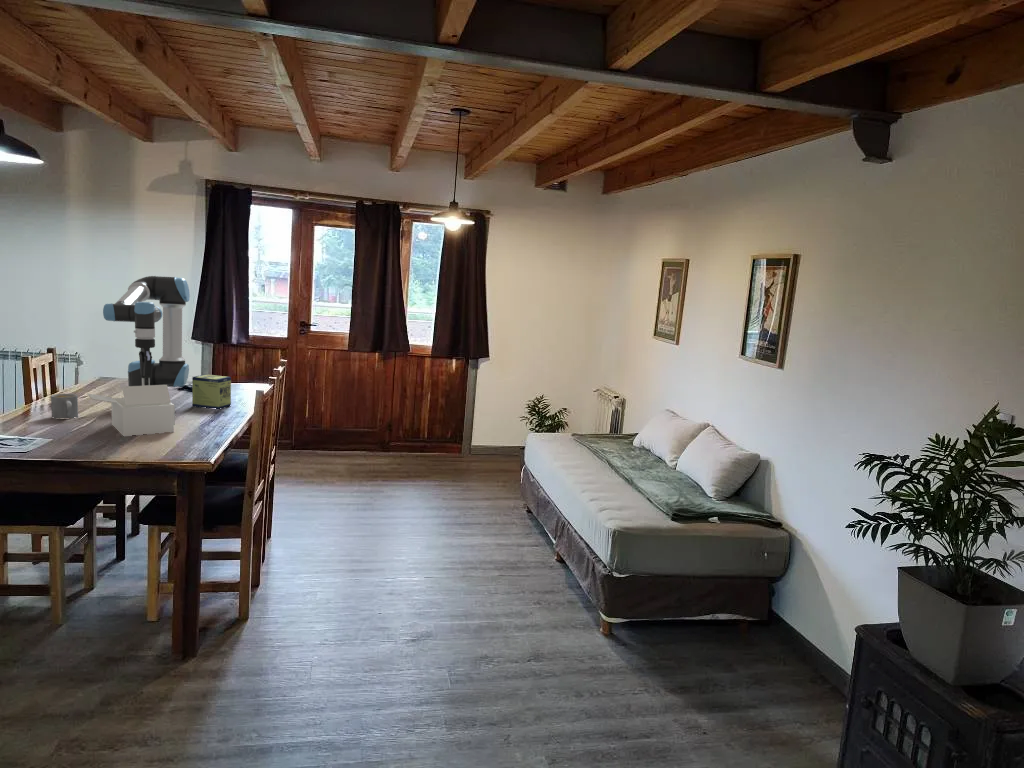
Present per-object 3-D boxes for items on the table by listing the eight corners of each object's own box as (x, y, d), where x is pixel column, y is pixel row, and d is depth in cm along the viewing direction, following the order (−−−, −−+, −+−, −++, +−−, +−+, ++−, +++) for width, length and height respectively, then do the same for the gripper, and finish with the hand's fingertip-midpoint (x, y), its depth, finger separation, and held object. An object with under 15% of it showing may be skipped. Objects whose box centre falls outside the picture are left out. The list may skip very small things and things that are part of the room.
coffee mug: (51, 415, 308) (50, 394, 307) (77, 414, 314) (76, 393, 313) (52, 421, 298) (51, 399, 296) (79, 420, 303) (78, 398, 302)
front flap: (125, 405, 280) (122, 387, 283) (170, 402, 291) (166, 385, 294) (125, 405, 279) (122, 386, 283) (170, 402, 290) (166, 384, 294)
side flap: (110, 398, 294) (87, 394, 288) (111, 397, 294) (87, 393, 288) (117, 403, 284) (92, 399, 278) (117, 402, 284) (93, 398, 278)
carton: (111, 424, 299) (111, 398, 297) (161, 421, 312) (160, 395, 310) (123, 436, 281) (122, 407, 279) (175, 432, 294) (175, 404, 292)
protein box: (219, 409, 343) (219, 379, 341) (191, 406, 346) (191, 376, 344) (231, 406, 354) (231, 376, 351) (204, 403, 357) (204, 374, 354)
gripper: (131, 336, 295) (132, 390, 298) (138, 339, 285) (139, 395, 289) (151, 336, 300) (151, 389, 303) (158, 339, 290) (159, 394, 293)
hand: (145, 392), depth 296 cm, fingers closed
